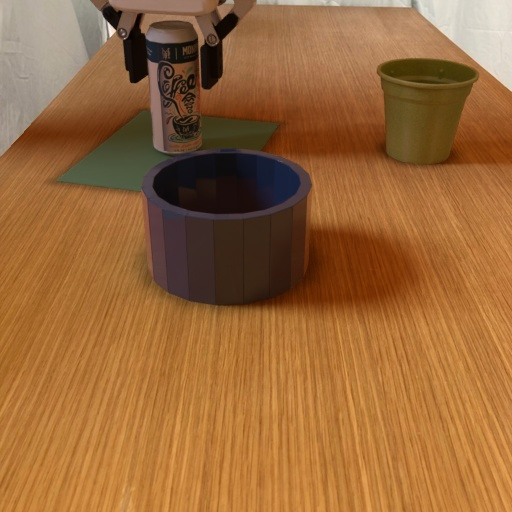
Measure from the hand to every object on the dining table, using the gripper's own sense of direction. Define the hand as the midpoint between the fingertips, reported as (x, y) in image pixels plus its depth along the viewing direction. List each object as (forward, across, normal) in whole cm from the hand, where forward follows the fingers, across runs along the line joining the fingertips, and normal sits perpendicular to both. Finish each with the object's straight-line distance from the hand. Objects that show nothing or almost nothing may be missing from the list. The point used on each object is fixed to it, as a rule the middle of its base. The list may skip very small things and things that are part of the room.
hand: (174, 80), depth 65 cm
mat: (+7, 0, 0) cm, 7 cm away
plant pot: (+8, +23, +6) cm, 25 cm away
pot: (+7, +11, -19) cm, 23 cm away
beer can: (+7, 0, 0) cm, 7 cm away
